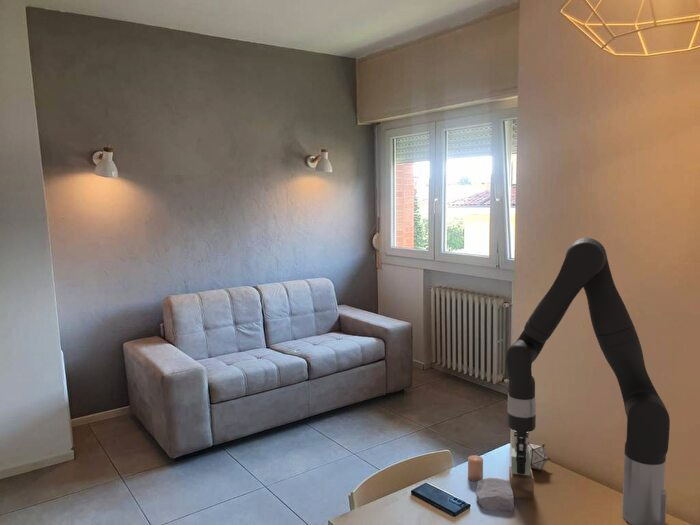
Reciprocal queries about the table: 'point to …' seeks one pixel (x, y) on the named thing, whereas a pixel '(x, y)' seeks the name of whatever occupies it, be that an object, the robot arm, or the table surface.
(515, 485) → the walnut cube
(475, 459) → the terracotta cylinder
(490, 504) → the stone block
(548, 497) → the table surface
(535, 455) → the white knobbed polyhedron
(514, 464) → the sage cube
